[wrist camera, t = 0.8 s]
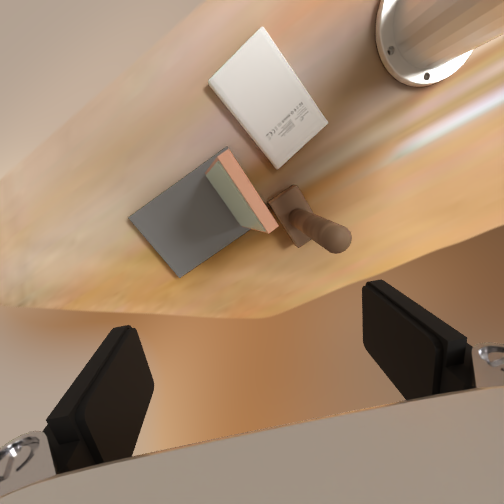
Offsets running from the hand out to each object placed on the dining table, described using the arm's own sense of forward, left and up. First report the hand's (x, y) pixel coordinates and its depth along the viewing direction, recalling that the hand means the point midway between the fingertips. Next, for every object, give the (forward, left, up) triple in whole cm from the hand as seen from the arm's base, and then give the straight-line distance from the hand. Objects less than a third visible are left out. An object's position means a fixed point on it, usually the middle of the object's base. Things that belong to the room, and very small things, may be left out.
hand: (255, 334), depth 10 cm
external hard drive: (-12, -9, -26) cm, 30 cm away
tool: (-7, +4, -25) cm, 26 cm away
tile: (-1, -3, -24) cm, 24 cm away
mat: (+3, -3, -25) cm, 25 cm away
